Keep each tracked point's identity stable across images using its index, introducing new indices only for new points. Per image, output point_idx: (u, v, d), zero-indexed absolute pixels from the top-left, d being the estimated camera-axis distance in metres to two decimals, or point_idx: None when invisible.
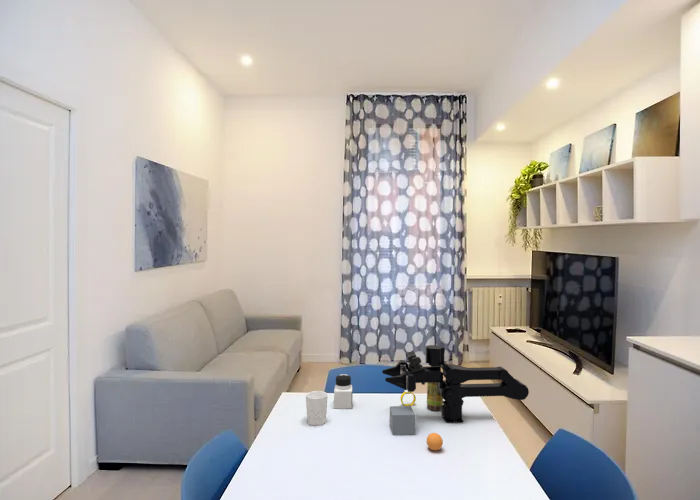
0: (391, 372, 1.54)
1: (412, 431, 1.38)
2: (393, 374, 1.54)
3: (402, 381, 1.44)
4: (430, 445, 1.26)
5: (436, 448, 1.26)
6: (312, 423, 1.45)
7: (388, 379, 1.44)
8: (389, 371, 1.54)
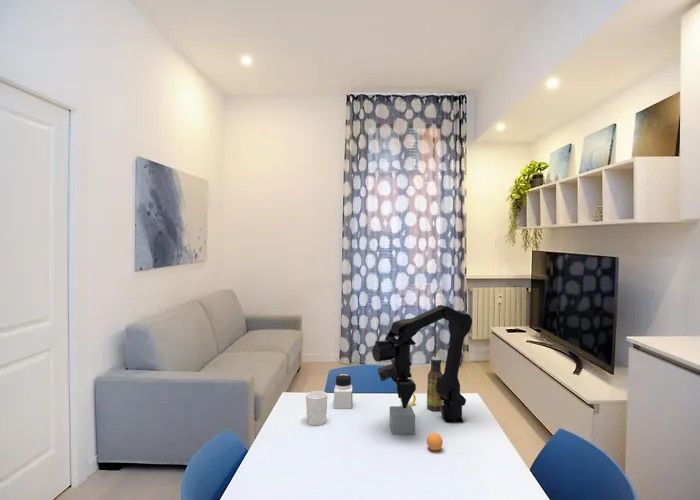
0: None
1: (412, 431, 1.38)
2: None
3: (406, 391, 1.36)
4: (430, 445, 1.26)
5: (436, 448, 1.26)
6: (312, 423, 1.45)
7: (404, 405, 1.36)
8: None
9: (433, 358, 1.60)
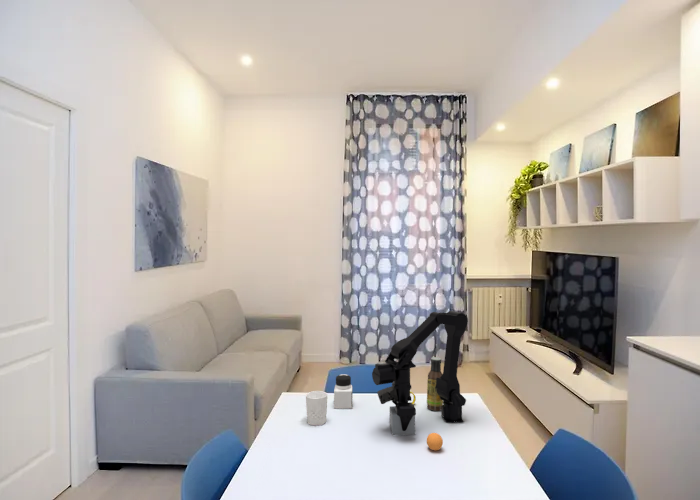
0: None
1: (412, 431, 1.38)
2: None
3: None
4: (430, 445, 1.26)
5: (436, 448, 1.26)
6: (312, 423, 1.45)
7: (403, 428, 1.37)
8: None
9: (433, 358, 1.60)
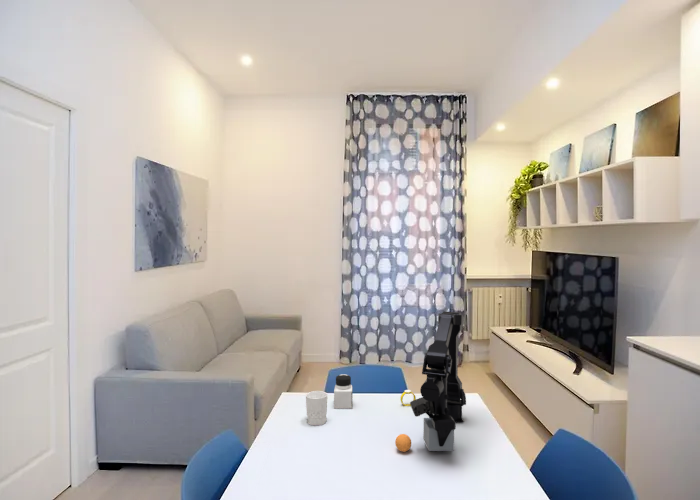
0: None
1: (450, 446, 1.24)
2: None
3: None
4: (407, 440, 1.25)
5: (402, 443, 1.25)
6: (312, 423, 1.45)
7: (441, 443, 1.23)
8: None
9: None
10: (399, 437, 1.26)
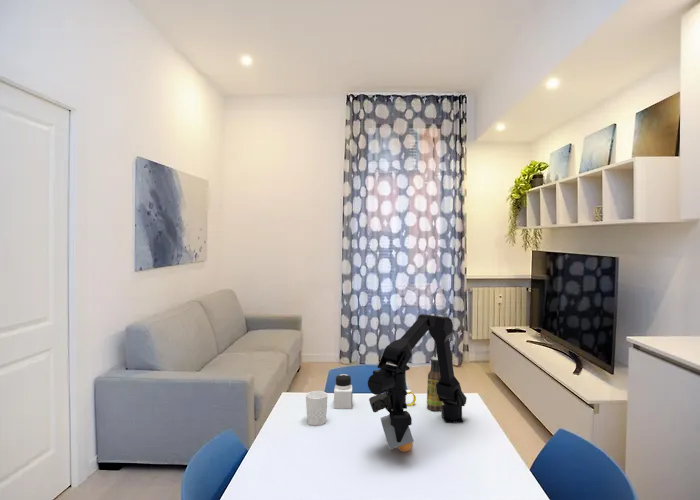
0: None
1: (409, 438, 1.24)
2: None
3: None
4: None
5: None
6: (312, 423, 1.45)
7: (398, 439, 1.23)
8: None
9: (433, 358, 1.60)
10: None
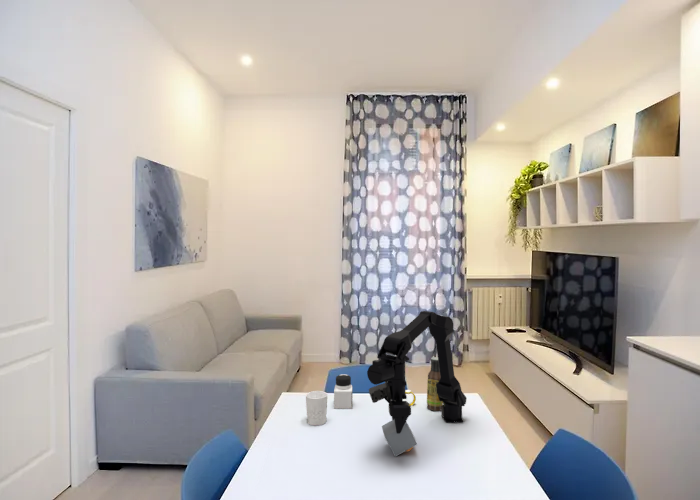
0: None
1: (412, 442, 1.24)
2: None
3: None
4: None
5: None
6: (312, 423, 1.45)
7: (398, 430, 1.22)
8: None
9: (433, 358, 1.60)
10: None
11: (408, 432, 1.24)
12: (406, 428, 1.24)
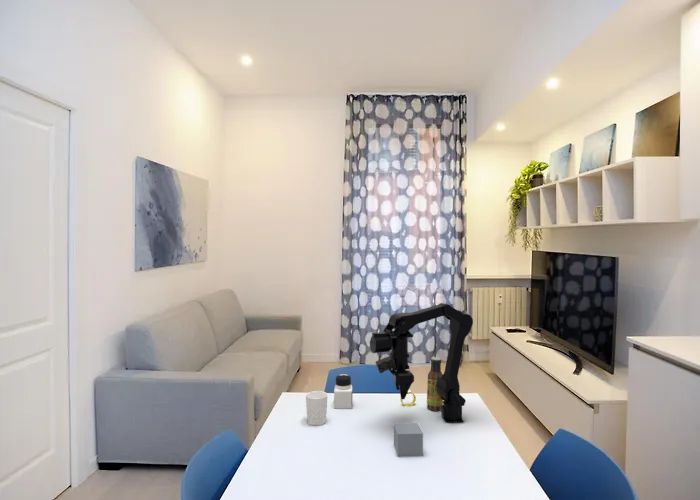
0: None
1: (419, 452, 1.24)
2: None
3: None
4: None
5: None
6: (312, 423, 1.45)
7: (402, 396, 1.39)
8: None
9: (433, 358, 1.60)
10: None
11: (420, 441, 1.24)
12: (420, 436, 1.24)
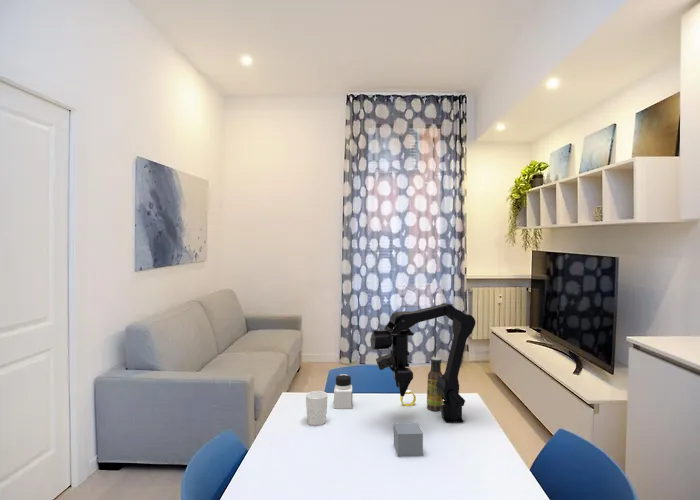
0: None
1: (419, 452, 1.24)
2: None
3: None
4: None
5: None
6: (312, 423, 1.45)
7: (401, 393, 1.40)
8: None
9: (433, 358, 1.60)
10: None
11: (420, 441, 1.24)
12: (420, 436, 1.24)
